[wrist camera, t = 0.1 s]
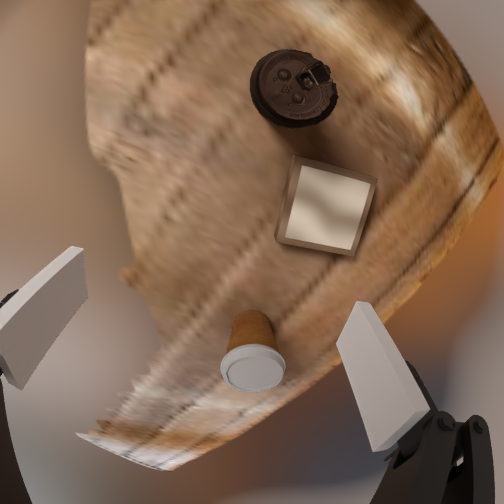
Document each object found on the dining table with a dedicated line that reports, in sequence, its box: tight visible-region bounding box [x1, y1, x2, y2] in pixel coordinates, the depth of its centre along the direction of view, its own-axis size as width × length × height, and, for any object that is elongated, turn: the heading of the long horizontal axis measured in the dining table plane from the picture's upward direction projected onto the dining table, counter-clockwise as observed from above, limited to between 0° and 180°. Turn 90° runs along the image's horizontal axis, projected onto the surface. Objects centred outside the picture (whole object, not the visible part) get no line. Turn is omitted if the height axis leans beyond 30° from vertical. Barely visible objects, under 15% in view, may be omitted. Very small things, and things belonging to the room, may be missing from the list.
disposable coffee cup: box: [221, 311, 286, 393], centre depth 42 cm, size 10×10×12 cm
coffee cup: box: [250, 49, 338, 128], centre depth 27 cm, size 9×8×13 cm
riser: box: [274, 155, 378, 257], centre depth 37 cm, size 12×12×3 cm
